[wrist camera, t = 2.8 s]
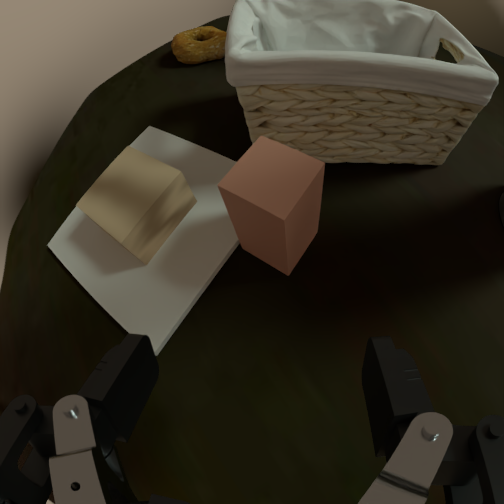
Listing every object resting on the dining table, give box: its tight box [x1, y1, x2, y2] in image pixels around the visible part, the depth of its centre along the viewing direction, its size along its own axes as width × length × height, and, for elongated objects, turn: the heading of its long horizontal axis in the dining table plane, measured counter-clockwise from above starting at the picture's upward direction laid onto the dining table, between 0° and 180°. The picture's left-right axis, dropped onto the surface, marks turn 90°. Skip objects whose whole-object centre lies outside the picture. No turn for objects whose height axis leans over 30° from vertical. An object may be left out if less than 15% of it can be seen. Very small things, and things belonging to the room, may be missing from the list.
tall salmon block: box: [217, 136, 325, 276], centre depth 24 cm, size 5×5×10 cm
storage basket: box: [225, 0, 499, 165], centre depth 26 cm, size 24×16×15 cm
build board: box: [48, 126, 240, 356], centre depth 31 cm, size 20×20×1 cm
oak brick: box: [76, 146, 197, 265], centre depth 28 cm, size 8×8×5 cm
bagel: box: [171, 26, 227, 64], centre depth 42 cm, size 10×11×5 cm
